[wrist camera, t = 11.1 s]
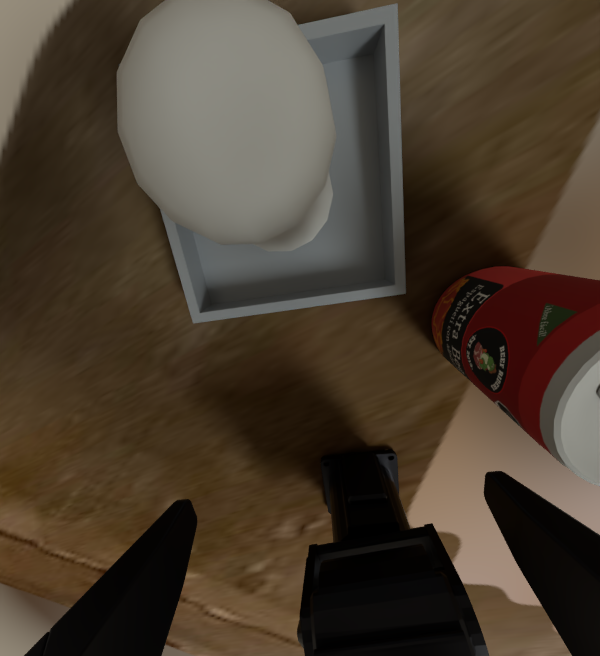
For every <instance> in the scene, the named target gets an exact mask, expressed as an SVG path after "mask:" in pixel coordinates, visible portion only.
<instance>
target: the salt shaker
mask: <svg viewBox="0 0 600 656" xmlns="http://www.w3.org/2000/svg"><path fill="white" fill-rule="evenodd" d="M117 124H118V134H119V136H120V139H121V142H122V144H123V147H124V150H125V152H126V155H127V158H128V160H129V163H130V166H131V168H132V171H133V174H134V176H135V179H136V181H137V184H138V185H139V186H140V187H141V188H142V189H143V190H144V191H145V192H146V194H147V195H148V196H149V197H150V198H151V199H152V200H153V201H154V202H155V203H156V204H157V206H158V207H159V208H160V209H161V210H162V211H163V212H164V213H165V214H166V215H167V216H168V217H169V219H170V220H171V221H173V222H175V223H177V224H179V225H181V226H183V227H185V228H187V229H189V230H191V231H194V232H196V233H198V234H200V235H202V236H204V237H206V238H208V239H210V240H212V241H214V242H216V243H219V244H221V245H231V244H254V245H256V246H258V247H260V248H262V249H264V250H266V251H268V252H270V251H293V250H295V249H296V248H298V247H300V246H302V245H304V244H306V243H308V242H310V241H312V240H313V239H314V237H315V236H316V235H317V233H318V232H319V231H320V229H321V228H322V227H323V225H324V224H325V223H326V221H327V219H328V215H329V210H330V206H331V202H332V197H333V190H332V185H331V180H330V175H329V168H330V163H331V159H332V154H333V150H334V146H335V141H336V137H337V136H336V131H335V125H334V120H333V114H332V109H331V103H330V98H329V93H328V87H327V82H326V77H325V73H324V68H323V65H322V63H321V62H320V60H319V58H318V57H317V55H316V54H315V52H314V50H313V49H312V47H311V46H310V44H309V42H308V41H307V39H306V38H305V36H304V35H303V33H302V31H301V30H300V28H299V27H298V25H297V23H296V22H295V20H294V19H293V17H292V15H291V14H290V13H289V12H288V11H286V10H284V9H282V8H281V7H279V6H277V5H275V4H274V3H272V2H270V1H268V0H165V1H164V2H162V3H161V4H160V5H158V6H157V7H156V8H155V9H153V10H152V11H151V12H150V13H148V14H147V15H146V16H144V17H143V18H142V19H141V20H140V21H139V24H138V26H137V28H136V30H135V33H134V35H133V37H132V39H131V42H130V44H129V46H128V48H127V51H126V53H125V55H124V57H123V60H122V62H121V64H120V66H119V69H118V71H117Z"/></svg>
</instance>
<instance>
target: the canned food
mask: <svg viewBox="0 0 600 656" xmlns="http://www.w3.org/2000/svg"><path fill="white" fill-rule="evenodd" d="M431 326H432V334H433V337H434V340H435V343H436V346H437V348H438V349H439V351H440V352H441V354H442V355H443V356H444V357H445V358H446V359H447V360H448V361H449V362H450V363H451V364H452V365H453V366H455V367H456V368H457V369H458V370H459V371H460V372H461V373H462V374H463V375H464V376H465V377H467V378H468V379H469V380H470V381H471V382H472V383H473V384H474V385H475V386H476V387H478V388H479V389H480V390H481V391H482V392H483V393H484V394H485V395H486V396H487V397H488V398H489V399H491V400H492V401H493V402H494V403H495V404H496V405H497V406H498V407H499V408H500V409H501V410H503V411H504V412H505V413H506V414H507V415H508V416H509V417H510V418H511V419H512V420H513V421H514V422H516V423H517V424H518V425H519V426H520V427H521V428H522V429H523V430H524V431H525V432H527V434H529V435H530V436H531V437H532V438H533V439H534V440H535V441H536V442H537V443H538V444H539V445H541V446H542V447H543V448H544V449H546V450H547V451H548V452H549V453H550V454H551V455H552V456H553V457H555V458H556V459H557V460H558V461H559V462H560V463H561V464H562V465H564V466H566V467H567V468H569V469H570V470H571V471H572V472H574V473H575V474H576V475H577V476H579V477H581V478H582V479H584V480H586V481H588V482H589V483H592V484H595V485H598V486H600V280H592V279H587V278H580V277H574V276H567V275H561V274H555V273H548V272H541V271H535V270H529V269H522V268H516V267H509V266H495V267H490V268H486V269H481V270H478V271H475V272H472V273H470V274H467V275H465V276H463V277H462V278H460V279H458V280H457V281H455V282H454V283H453V284H452V285H451V286H449V287H448V288H447V289H446V291H445V292H444V293H443V294H442V295H441V297H440V298H439V300H438V302H437V304H436V306H435V308H434V312H433V315H432V323H431Z"/></svg>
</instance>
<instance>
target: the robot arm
mask: <svg viewBox="0 0 600 656" xmlns="http://www.w3.org/2000/svg"><path fill="white" fill-rule="evenodd" d="M389 456H391V457H389ZM325 462H328V463H325ZM321 469H322V475H323V482H324V488H325V494H326V500H327V506H328V512H329V513H330V514H331V518H332V530H333V543H327V544H322V545H317V544H313V545H309V552H308V557H307V559H306V568H305V576H304V584H303V592H302V600H301V609H300V620H299V624H298V628H297V636H298V641H299V643H300V644H301V646H302V647H303V648H304V652H305V656H489V653H488V650H487V646H486V643H485V640H484V637H483V634H482V631H481V628H480V626H479V623H478V620H477V617H476V615H475V612H474V610H473V607H472V605H471V602H470V600H469V597H468V595H467V593H466V590H465V588H464V586H463V584H462V581H461V579H460V577H459V575H458V574H457V572H456V569H455V567H454V565H453V563H452V561H451V559H450V557H449V555H448V553H447V552H446V550H445V548H444V546H443V544H442V542H441V540H440V538H439V536H438V534H437V532H436V530H435V528H434V526H433V524H432V523H431V524H426V525H424V527H418V528H412V529H410V526H409V523H408V520H407V517H406V514H405V512H404V509H403V506H402V503H401V500H400V497H399V485H398V465H397V455H396V453H395V452H394V451H393V450H383V451H373V452H363V453H353V454H343V455H332V456H324V457H322V458H321ZM484 497H485V500H486V502H487V504H488V506H489V508H490V510H491V512H492V514H493V516H494V518H495V521H496V522H497V525H498V527H499V528H500V530H501V533H502V534H503V537H504V539H505V541H506V543H507V545H508V547H509V549H510V551H511V553H512V555H513V557H514V559H515V561H516V563H517V564H518V566H519V568H520V570H521V571H522V573H523V575H524V576H525V578H526V580H527V581H528V583H529V585H530V586H531V588H532V590H533V591H534V593H535V595H536V596H537V598H538V600H539V601H540V603H541V605H542V606H543V608H544V610H545V611H546V613H547V615H548V616H549V618H550V620H551V621H552V623H553V625H554V626H555V628H556V630H557V631H558V633H559V635H560V636H561V638H562V640H563V641H564V643H565V645H566V646H567V648H568V650H569V651H570V653H571V655H572V656H600V535H599V534H597V533H595V532H594V531H593V530H591V529H590V528H588V527H587V526H585V525H584V524H582V523H581V522H579V521H578V520H576V519H574V518H573V517H571V516H570V515H568V514H567V513H565V512H564V511H562V510H561V509H559V508H558V507H556V506H555V505H553V504H552V503H550V502H548V501H547V500H545V499H544V498H542V497H541V496H539V495H538V494H536V493H535V492H533V491H532V490H530V489H529V488H527V487H526V486H524V485H523V484H521V483H519V482H518V481H516V480H515V479H513V478H512V477H510V476H509V475H507V474H506V473H504V472H502V471H495V472H494V471H493V472H487V473H486V475H485V485H484ZM196 527H197V516H196V513H195V511H194V508H193V505H192V503H191V501H190V500H189V499H184V500H177V501H175V502H174V503H173V504H172V505H171V506H170V507H169V508H168V509H167V510H166V511H165V512H164V513H163V514H162V515H161V516H160V517H159V518H158V519H157V520H156V521H155V522H154V523H153V524H152V526H151V527H150V528H149V529H148V530H147V531H146V532H145V533H144V534H143V535H142V536H141V537H140V538H139V539H138V540H137V541H136V542H135V543H134V544H133V545H132V546H131V547H130V548H129V549H128V550H127V551H126V552H125V553H124V554H123V555H122V556H121V557H120V558H119V559H118V560H117V561H116V562H115V563H114V564H113V565H112V566H111V567H110V568H109V570H108V571H107V572H106V573H105V574H104V575H103V576H102V577H101V578H100V579H99V580H98V581H97V582H96V583H95V584H94V585H93V586H92V587H91V588H90V589H89V590H88V591H87V592H86V593H85V594H84V595H83V596H82V597H81V598H80V599H79V600H78V601H77V602H76V603H75V604H74V605H73V606H72V607H71V608H70V609H69V611H67V612H66V614H65V615H64V616H63V617H62V618H61V619H60V620H59V621H58V622H57V623H56V624H55V625H54V626H53V627H52V628H51V630H50V632H47V633H46V634H45V635H44V636H43V637H42V638H41V639H40V640H39V641H38V642H37V643H36V644H35V645H34V646H33V647H32V648H31V649H30V650H29V651H28V652H27V653H26V654H25V655H24V656H161V655H162V652H163V649H164V646H165V643H166V639H167V636H168V633H169V630H170V627H171V623H172V620H173V617H174V614H175V611H176V608H177V604H178V601H179V598H180V595H181V591H182V588H183V584H184V580H185V576H186V572H187V567H188V563H189V559H190V554H191V550H192V545H193V541H194V536H195V532H196Z"/></svg>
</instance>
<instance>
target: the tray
mask: <svg viewBox="0 0 600 656" xmlns="http://www.w3.org/2000/svg"><path fill="white" fill-rule="evenodd" d="M298 27H299V28H300V30H301V31H302V33H303V35H304V36H305V38H306V39H307V41H308V42H309V44H310V46H311V47H312V49H313V50H314V52H315V54H316V55H317V57H318V58H319V60H320V62H321V63H322V65H323V68H324V73H325V77H326V82H327V87H328V93H329V98H330V103H331V109H332V114H333V120H334V125H335V131H336V136H337V137H336V141H335V146H334V150H333V154H332V159H331V163H330V168H329V175H330V180H331V185H332V190H333V197H332V202H331V206H330V210H329V215H328V219H327V221H326V223H325V224H324V225H323V227H322V228H321V229H320V231H319V232H318V233H317V235H316V236H315V237H314V239H313V240H312V241H310V242H308V243H306V244H304V245H302V246H300V247H298V248H296V249H295V250H293V251H270V252H268V251H266V250H264V249H262V248H260V247H258V246H256V245H254V244H231V245H221V244H219V243H216V242H214V241H212V240H210V239H208V238H206V237H204V236H202V235H200V234H198V233H196V232H194V231H191V230H189V229H187V228H185V227H183V226H181V225H179V224H177V223H175V222H173V221H171V220H170V219H169V217H168V216H167V215H166V214H165V213H164V212H163V211H162V210H161V209H160V210H161V214H162V217H163V221H164V224H165V228H166V231H167V235H168V238H169V242H170V245H171V248H172V252H173V255H174V259H175V262H176V266H177V269H178V273H179V276H180V280H181V283H182V287H183V290H184V294H185V297H186V300H187V304H188V307H189V311H190V314H191V318H192V321H193V323H200V322H207V321H214V320H221V319H228V318H235V317H243V316H250V315H257V314H264V313H271V312H278V311H286V310H293V309H300V308H307V307H314V306H321V305H329V304H336V303H343V302H350V301H357V300H364V299H372V298H379V297H386V296H393V295H400V294H406V278H405V244H404V210H403V175H402V141H401V107H400V72H399V38H398V4H392V5H388V6H383V7H378V8H374V9H369V10H365V11H360V12H356V13H351V14H346V15H342V16H337V17H333V18H328V19H323V20H319V21H314V22H310V23H305V24H300V25H298ZM118 65H119V66H120V64H118Z"/></svg>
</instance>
